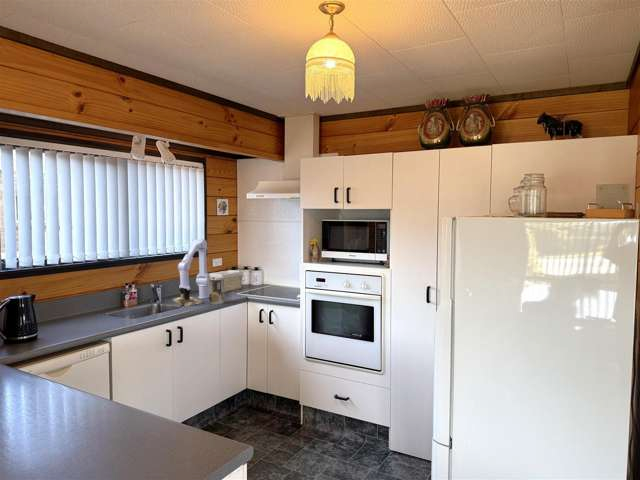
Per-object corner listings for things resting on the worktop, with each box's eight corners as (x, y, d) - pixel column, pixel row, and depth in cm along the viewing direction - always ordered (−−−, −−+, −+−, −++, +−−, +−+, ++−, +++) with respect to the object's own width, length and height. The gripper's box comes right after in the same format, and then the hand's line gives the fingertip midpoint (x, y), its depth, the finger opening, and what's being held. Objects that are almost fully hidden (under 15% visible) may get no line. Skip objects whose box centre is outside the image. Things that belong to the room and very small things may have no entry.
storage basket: (230, 287, 377) (229, 269, 376) (244, 288, 368) (243, 270, 367) (208, 291, 357) (207, 273, 356) (223, 293, 348) (222, 274, 347)
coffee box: (225, 302, 314) (224, 279, 313) (222, 304, 308) (221, 280, 307) (212, 302, 315) (211, 279, 314) (209, 304, 309) (208, 281, 308)
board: (189, 298, 331) (189, 296, 330) (202, 303, 312) (202, 300, 312) (173, 301, 323) (173, 298, 323) (185, 306, 304) (185, 303, 304)
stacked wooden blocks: (192, 302, 315) (192, 292, 315) (195, 303, 311) (195, 293, 311) (178, 304, 309) (177, 294, 308) (181, 305, 305) (180, 295, 304)
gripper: (175, 279, 311) (176, 298, 312) (182, 281, 300) (184, 301, 301) (184, 278, 316) (185, 296, 317) (192, 280, 304) (194, 299, 305)
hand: (185, 299), depth 309 cm, fingers closed on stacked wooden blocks, 4 cm apart
